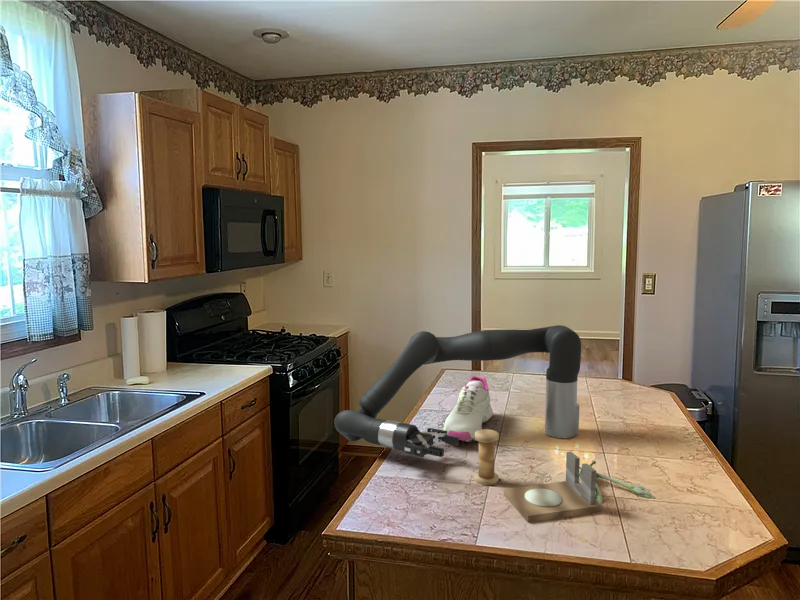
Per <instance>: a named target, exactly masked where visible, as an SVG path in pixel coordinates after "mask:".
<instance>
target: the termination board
mask: <svg viewBox="0 0 800 600" xmlns="http://www.w3.org/2000/svg"><path fill="white" fill-rule="evenodd" d="M565 459H566V460H565V462H566V463H565V481H556V482H555V481H554V482H548V483H541V484H533V485H526V486H518V487H509V488H503V497H505V498H506V500H507V501H508V500H509V501H508V502H509V503H510V504H511V505H512V506H513V508H514V509H516V511H517V512H518V513H519V514H520V515H521V516H522V518H523V519H524V520H525V521H526V522H527V523H533V522H538V521H539V522H541V521H545V520H546V521H547V520H554V519H561V518H567V517H575V516H581V515H588V514H594V513H595V514H596V513H600V512H602V504H601V505H600V504H599V503H598V502H596V499H595V497H596V483H597V477H596V473H597V470H596V469H595V468H594V467H593V466H590V464H588V463H581V462H580V460H581V459H580V457H579V456H577V454H575V453H573V451H566V458H565ZM580 463H581V465H580ZM579 467H582V478H581V480H580V477H579V473H580V468H579ZM580 481H581V482H580Z"/></svg>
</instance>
